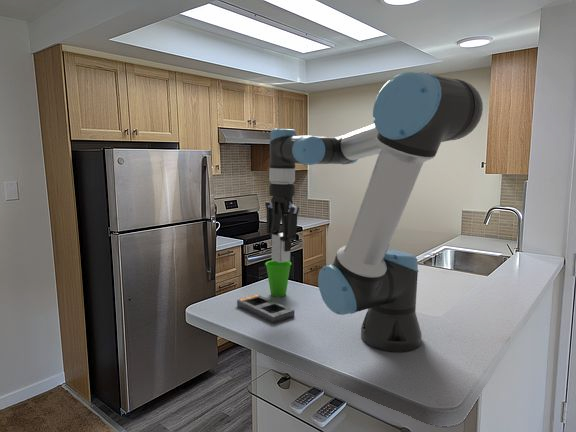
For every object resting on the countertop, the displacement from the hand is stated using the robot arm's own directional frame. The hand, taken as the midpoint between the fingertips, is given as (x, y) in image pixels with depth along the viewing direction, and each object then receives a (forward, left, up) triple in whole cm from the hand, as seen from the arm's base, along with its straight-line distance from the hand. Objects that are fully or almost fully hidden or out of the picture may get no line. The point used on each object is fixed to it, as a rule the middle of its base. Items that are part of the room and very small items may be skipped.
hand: (280, 259), depth 120 cm
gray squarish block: (0, 0, 0) cm, 0 cm away
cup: (+11, -8, -16) cm, 21 cm away
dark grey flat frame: (+2, +5, -16) cm, 17 cm away
